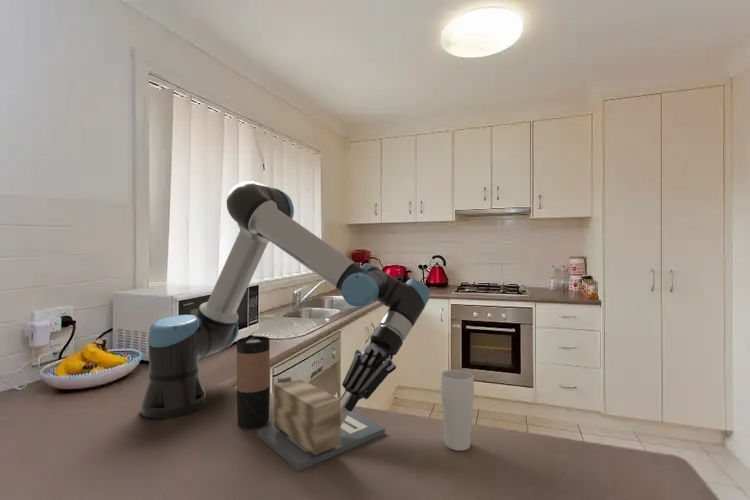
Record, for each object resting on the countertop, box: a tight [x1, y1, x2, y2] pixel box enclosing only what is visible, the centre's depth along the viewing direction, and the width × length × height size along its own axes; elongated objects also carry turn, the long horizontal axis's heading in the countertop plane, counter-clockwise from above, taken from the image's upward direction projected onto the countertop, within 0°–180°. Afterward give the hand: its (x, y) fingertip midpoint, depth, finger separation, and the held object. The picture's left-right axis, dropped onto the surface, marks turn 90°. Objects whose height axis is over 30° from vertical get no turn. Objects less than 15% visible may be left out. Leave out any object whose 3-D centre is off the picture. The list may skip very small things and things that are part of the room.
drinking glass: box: [440, 369, 475, 452], centre depth 79 cm, size 7×7×15 cm
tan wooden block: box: [273, 375, 341, 455], centre depth 80 cm, size 20×6×9 cm, turn 41°
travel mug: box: [236, 335, 271, 430], centre depth 90 cm, size 8×8×20 cm
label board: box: [257, 410, 386, 472], centre depth 84 cm, size 19×22×2 cm
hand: (335, 421), depth 82 cm, fingers closed
